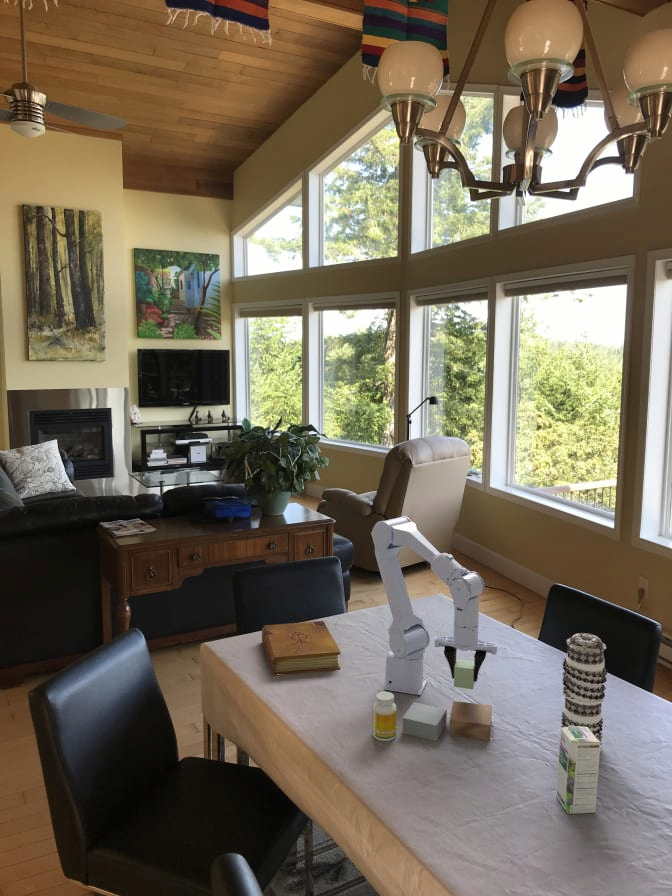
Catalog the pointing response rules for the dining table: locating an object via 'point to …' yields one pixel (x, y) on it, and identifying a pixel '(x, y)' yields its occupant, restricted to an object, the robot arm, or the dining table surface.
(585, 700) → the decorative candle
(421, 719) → the slate block
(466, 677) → the sage block
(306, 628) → the diary
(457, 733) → the walnut block
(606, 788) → the dining table surface
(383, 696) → the supplement bottle
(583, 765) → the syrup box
